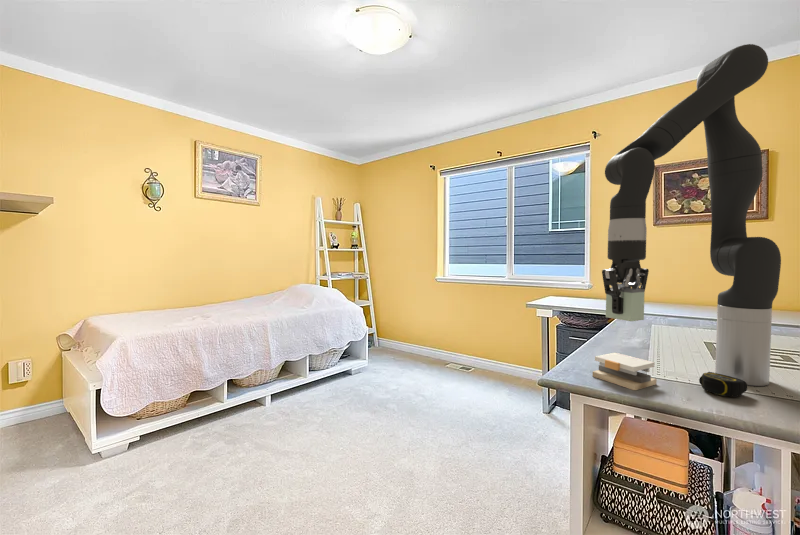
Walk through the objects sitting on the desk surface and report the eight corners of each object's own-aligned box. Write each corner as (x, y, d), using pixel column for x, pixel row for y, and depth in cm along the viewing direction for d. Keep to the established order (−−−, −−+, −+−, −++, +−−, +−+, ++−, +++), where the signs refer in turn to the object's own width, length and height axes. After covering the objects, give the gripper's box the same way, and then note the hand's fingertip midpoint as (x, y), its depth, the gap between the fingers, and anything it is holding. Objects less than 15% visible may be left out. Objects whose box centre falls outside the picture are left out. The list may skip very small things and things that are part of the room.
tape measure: (749, 396, 75) (749, 378, 75) (734, 402, 72) (735, 384, 72) (708, 385, 81) (709, 369, 81) (693, 391, 78) (694, 374, 78)
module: (618, 315, 88) (618, 286, 87) (643, 319, 82) (644, 289, 82) (605, 317, 86) (606, 287, 85) (631, 321, 80) (632, 290, 80)
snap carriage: (614, 360, 90) (615, 352, 90) (654, 371, 82) (654, 362, 82) (592, 365, 87) (592, 356, 87) (631, 377, 78) (631, 367, 78)
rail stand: (613, 371, 91) (613, 361, 91) (656, 384, 82) (656, 373, 82) (592, 376, 87) (592, 366, 87) (634, 390, 78) (634, 379, 78)
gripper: (623, 238, 77) (621, 318, 78) (662, 239, 83) (660, 313, 84) (591, 239, 84) (589, 312, 84) (629, 240, 90) (627, 308, 90)
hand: (624, 312), depth 84 cm, fingers closed on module, 4 cm apart
